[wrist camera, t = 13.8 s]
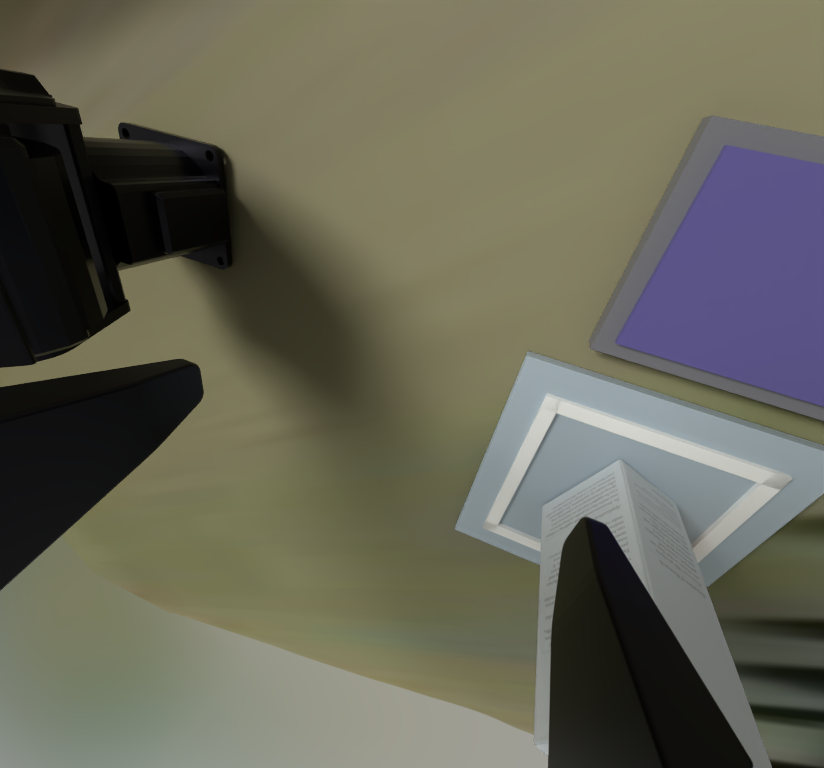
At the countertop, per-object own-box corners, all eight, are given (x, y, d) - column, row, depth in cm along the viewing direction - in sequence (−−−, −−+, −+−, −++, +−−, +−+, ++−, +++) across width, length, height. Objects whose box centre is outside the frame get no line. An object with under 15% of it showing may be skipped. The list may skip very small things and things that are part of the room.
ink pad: (589, 340, 18) (590, 351, 17) (702, 118, 13) (715, 114, 12) (868, 425, 16) (890, 444, 15) (1130, 200, 11) (1190, 204, 10)
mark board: (456, 522, 28) (453, 532, 27) (527, 350, 19) (526, 358, 19) (665, 610, 25) (669, 623, 24) (852, 454, 17) (865, 467, 16)
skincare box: (592, 543, 24) (614, 809, 14) (540, 503, 23) (526, 746, 14) (682, 501, 20) (796, 819, 10) (622, 454, 20) (682, 733, 10)
